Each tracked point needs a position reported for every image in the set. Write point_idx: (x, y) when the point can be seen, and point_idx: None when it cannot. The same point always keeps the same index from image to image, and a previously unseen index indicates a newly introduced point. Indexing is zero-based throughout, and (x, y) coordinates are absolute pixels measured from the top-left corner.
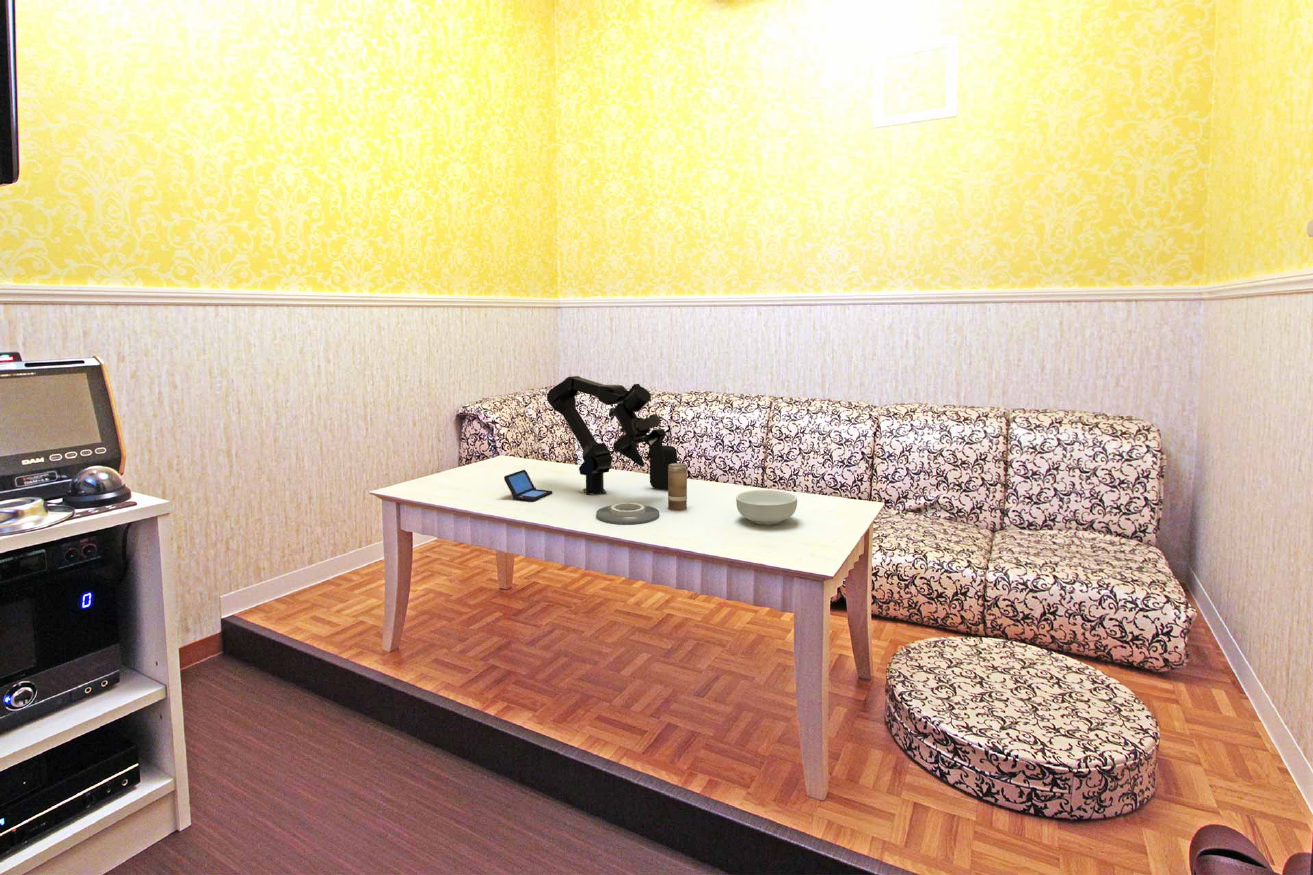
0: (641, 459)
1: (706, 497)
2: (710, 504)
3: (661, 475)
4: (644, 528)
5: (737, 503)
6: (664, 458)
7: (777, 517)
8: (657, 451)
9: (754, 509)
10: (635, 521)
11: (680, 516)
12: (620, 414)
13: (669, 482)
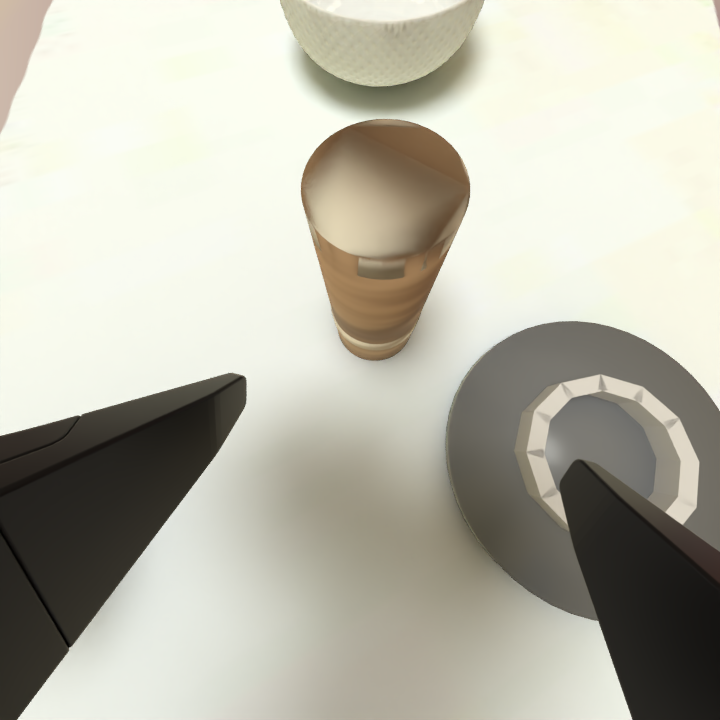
0: (659, 515)
1: (168, 294)
2: (266, 243)
3: None
4: (680, 312)
5: (452, 29)
6: (219, 376)
7: None
8: (125, 504)
9: None
10: (673, 362)
11: (470, 269)
12: None
13: (427, 294)
